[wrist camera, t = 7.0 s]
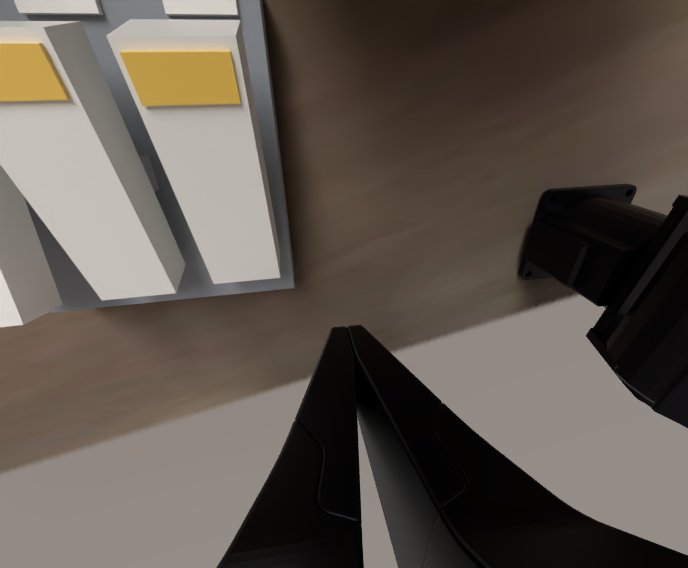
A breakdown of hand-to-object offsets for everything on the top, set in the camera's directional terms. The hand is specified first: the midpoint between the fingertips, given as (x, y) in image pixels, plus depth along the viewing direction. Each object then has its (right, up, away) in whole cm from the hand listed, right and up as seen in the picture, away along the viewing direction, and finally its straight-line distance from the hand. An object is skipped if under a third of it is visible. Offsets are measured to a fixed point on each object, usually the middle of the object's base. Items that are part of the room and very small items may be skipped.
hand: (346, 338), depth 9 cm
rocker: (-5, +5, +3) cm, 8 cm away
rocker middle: (-9, +5, +2) cm, 11 cm away
